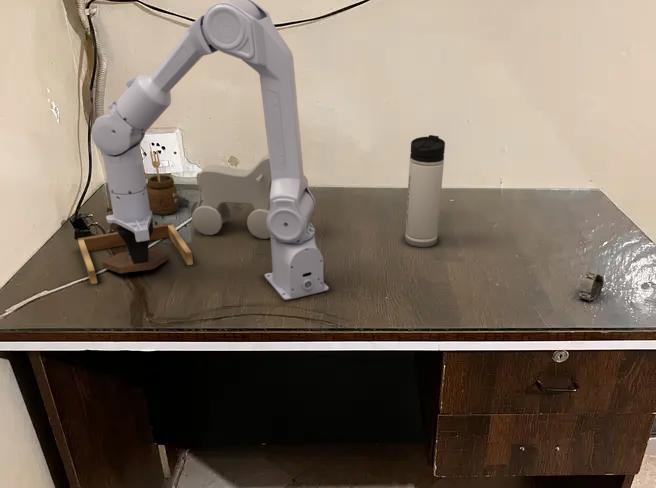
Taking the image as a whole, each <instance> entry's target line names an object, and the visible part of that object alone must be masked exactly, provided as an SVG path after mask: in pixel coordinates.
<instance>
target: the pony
mask: <svg viewBox="0 0 656 488" xmlns="http://www.w3.org/2000/svg"><path fill="white" fill-rule="evenodd" d="M271 183H272V179H271V170H270V161H269V153H267V154H265V156H263V157H262V158H261V159H260V160H259V162H258V163H257V164H256V165H255V166H253V167H252V168H249V169H241V168H234V167H230V166H226V165H219V164H208V165H206V166H205V167H204V168H203V169H202V170H201V171H199V172H197V174H196V184H197V188H198V194H199V195H198V197H199V198H198V202H197V205H196V208H195V209H194V211H193V212H192V214H191V223H192V225H193V228H194V229H195V230H196V231H197V232H198V233H201V234H202V235H205V236H213V235H215V234H218V233H219V232H220V231H221V230H222V228H223V224H224V223H226V222H228V220H229V219H230V218H231V213H232V209H231V207H230V204H238V205H239V204H240V205H243V204H244V205H245V204H246V205H251V206H252V208H253V209H254V210H252V211H251V213H250V214H249V215H248V216H247V219H246V226H247V228H248V231H249V232H250V233H251V234H252V235H253V236H254V237H256V238H258V239H263V240H264V239H265V240H266V239H269V238H270V239H271V236H270V232H269V230H268V228H267V223H266V219H267V215H268V213H269V211H270V191H271Z"/></svg>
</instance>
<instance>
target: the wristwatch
mask: <svg viewBox="0 0 656 488" xmlns="http://www.w3.org/2000/svg"><path fill="white" fill-rule="evenodd" d="M580 282H581V283H580V284H579V291H580V292H579V295H578V297H579V299H582V300H586V301H588V302H590V301H594V300H595V299H596V298H597V297H598V296H599V295H600V294H601V292H602V290H603V287H604V282H605V281H604V276H602V275H600V274H599V273H597V272H595V271H591V270H587V271H586V273H585V274H584V276H583V277H582V279H581V281H580Z"/></svg>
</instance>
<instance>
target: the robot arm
mask: <svg viewBox="0 0 656 488" xmlns="http://www.w3.org/2000/svg"><path fill="white" fill-rule="evenodd" d="M218 51H219V52H221V53H222V54H226V55H228V56H231V57H234V58H236V59H238V60H239V59H240V60H241V61H242V62H244V63H245V64H246V65H248V67H250V68H252V69H253V70H254V71H255V72H257V73H258V74H259V81H260V90H261V91H260V92H261V99H262V108H263V109H262V110H263V117H264V126H265V134H266V135H265V136H266V143H267V151H268V153H267V154H269V161H270V170H271V179H272V183H271V191H270V211H269V213H268V215H267V219H266V223H267V228H268V230H269V232H270V236H271V237H270V251H271V252H270V253H271V269H272V272H267V273H265V274H264V278H265V280H266V281H267V282H269V284H270V285H271V286H272V288H273V289H274V290H275V291H276V292H277V294H278V295H279V296H280V297H281V298H282V299H283V300H284V301H289V300H293V299H299V298H302V297H306V296H311V295H314V294H318V293H323V292H328V291H329V289H330V287H329V286H328V285H327V284H326V283H325V282H324V275H325V274H324V256H323V254H322V253H321V251H320V250H319V248H318V246H317V243H316V229H315V228H314V225H313V224H312V221H311V218H312V216H313V215H314V214H315V211H316V199H315V197H314V195H313V194H312V192H311V191H310V187H309V181H308V178H307V176H306V175H305V174H304V165H303V164H304V163H303V154H302V153H303V152H302V141H301V140H302V139H301V131H300V130H301V129H300V119H299V117H300V116H299V107H298V95H297V94H298V93H297V84H296V73H295V62H294V55H293V52H292V50H291V49H290V47H289V45H288V44H287V43H286V41H285V40H284V38H283V36H282V35H281V34H280V32H279V31H278V29H277V28H276V26H275V25H274V23H273V21H272V19H271V16H270V14H269V12H268V10H265V9H264V8H263V7H262V6H260V5H259V3H258V4H257V3H256V2H255V1H254V0H226V1H218V2H215V3H213V4H212V5H210V6H208V8H207V10H205V13H204V14H203V15H201V16H199V17H198V18H196V20H194V21H193V23H191V24H190V26H189V27H188V28H187V29H186V30H185V32H184V33H183V34H182V36H181V37H180V38H179V39H178V40H177V42H176V43H175V45H174V46H173V47H172V48H171V50H170V51H169V53H167V55H166V56H165V58H164V59H162V61H161V62H160V64H159V65H158V66H157V67H156V69H155V70H154V71H153V73H152V74H140V75H138V76H137V77H135V76H133V77H130V78H129V79H128V80H127V81H126V83H125V86H126V87H127V89H126V90H125V91H124V93H122V94H121V96H120V97H119V98H118V99H117V100H115V101H112V102H111V103H110V104H109V105H108V106H107V107H108V109H109V113H108V114H104V115H101V116H98V117H96V118H95V119H94V123H93V124H92V127H91V139H92V142H93V144H94V145H95V146H96V148H98V150H99V151H101V154H102V159H103V165H104V170H105V177H106V181H107V187H108V192H109V197H110V202H111V209H113V213H112V214H110V215H109V214H108V215H106V216H105V219H106V222H107V223H108V224H110V223H116V224H118V225H119V226H117V227H115V230H116V232H118V234H119V235H120V236H121V238H122V239H123V240H124V242H125V243H126V245H125V246H126V248H127V252H129V254H130V257H131V259H132V261H133V263H134V264H137V263H143V262H148V249H149V246H150V245H149V244H150V237H151V235H152V233H153V226H154V225H153V223H152V219H153V213H152V212H151V210H150V206H149V199H148V187H147V186H148V185H147V180H146V175H145V167H144V160H143V156H142V149H141V148H142V147H141V144H142V142H143V140H144V138H145V137H146V136H145V135H146V132H148V130H149V129H150V128H151V127H152V126H153V124H154V123H155V122H156V121H157V120H158V119H159V118H160V117H161V116H162V114H164V112H165V111H166V110H167V109H168V108H169V107H170V106H171V103H172V97H171V90H172V89H173V88H174V87H175V86H176V85H177V84H178V83H179V82H180V81H181V80H182V79H183V78H184V77H185V75H187V74H188V73H189V71H190V70H191V69H193V67H194V66H195V65H196V64H197V63H199V61H200V60H201V59H202V58H203V57H204V56H208V55H212V54H214V53H216V52H218Z"/></svg>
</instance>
